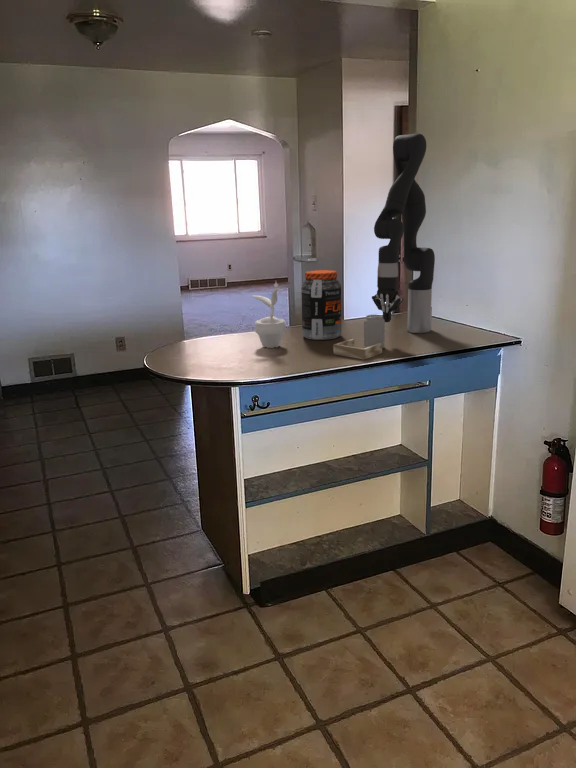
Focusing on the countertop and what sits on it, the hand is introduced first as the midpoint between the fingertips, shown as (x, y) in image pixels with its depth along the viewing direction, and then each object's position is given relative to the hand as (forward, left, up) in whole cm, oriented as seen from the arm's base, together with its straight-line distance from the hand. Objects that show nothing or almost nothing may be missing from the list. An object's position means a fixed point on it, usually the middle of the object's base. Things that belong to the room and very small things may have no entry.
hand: (386, 321), depth 236 cm
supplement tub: (+4, -28, -9) cm, 30 cm away
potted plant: (+28, -34, -9) cm, 45 cm away
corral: (+18, 0, -8) cm, 20 cm away
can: (+8, 0, -9) cm, 12 cm away
